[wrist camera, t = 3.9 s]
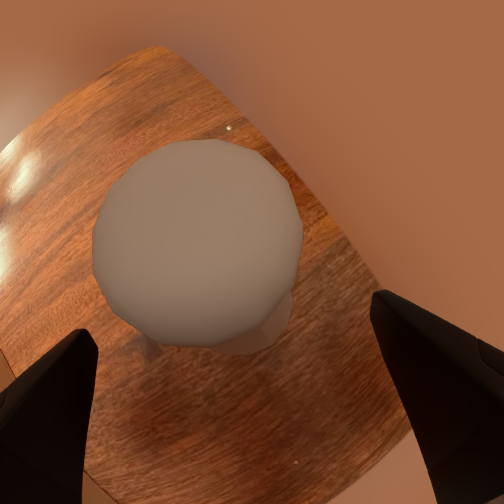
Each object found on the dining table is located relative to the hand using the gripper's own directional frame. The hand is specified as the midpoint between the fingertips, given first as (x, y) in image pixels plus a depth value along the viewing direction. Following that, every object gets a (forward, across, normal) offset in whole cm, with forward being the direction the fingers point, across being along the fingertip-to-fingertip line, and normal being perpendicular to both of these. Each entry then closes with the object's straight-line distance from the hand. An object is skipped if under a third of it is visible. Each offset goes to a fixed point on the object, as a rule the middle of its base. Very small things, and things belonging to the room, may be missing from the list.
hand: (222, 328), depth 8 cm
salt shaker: (+8, 0, +5) cm, 9 cm away
